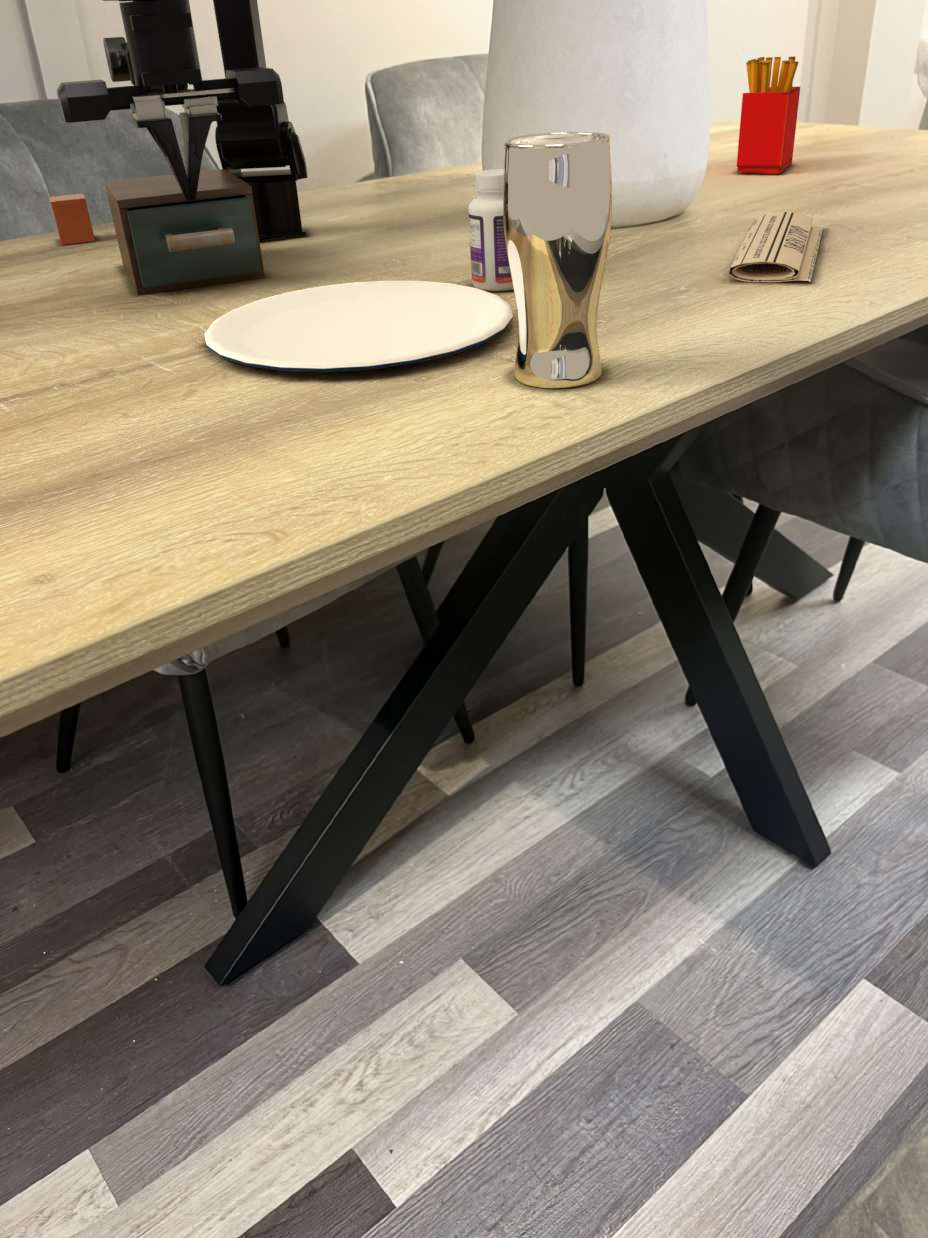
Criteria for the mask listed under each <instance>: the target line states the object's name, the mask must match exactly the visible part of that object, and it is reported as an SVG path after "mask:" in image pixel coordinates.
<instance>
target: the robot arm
mask: <svg viewBox="0 0 928 1238" xmlns="http://www.w3.org/2000/svg"><path fill="white" fill-rule="evenodd" d="M102 1H103V2H107V1H108V2H113V1H114V2H115V1H117V2H118V4H119V10H120V14H121V19H122V25H123V29H124V34H125V37H123V36H115V37H103V38H102V39H103V40H102V41H103V48H104V49H103V50H104V53H105V58H106V63H107V68H108V71H109V75H110V79H111V82H113V83H119V82H121V83H122V82H130V83H131V85H126V86H113V87H108V86H107V83H106V81H105V80H103V79H91V80H78V81H77V80H76V81H66V82H61V83H60V84H59V85H58V87H57V88H56V95H57V100H58V105H59V108H60V112H61V116H62V119H63V121H64V122H65V123H67V124H68V123H81V122H84V123H85V122H95V121H104V120H106V118H107V117H108V115H109V114H110V112H111V111H112V112H113V111H123V110H124V111H125V110H128V112H129V113H130V114H132V116H131V117H130V120H131V124H132V125H134V127H136V128H137V129H146V130H147V131H148V133H149V134H150V136H151V137H152V138H153V140H154V142H155V144H156V145H157V146H158V148H159V149H160V151H161V153H162V155H163V157H164V158H165V160H166V162H167V164H168V166H169V168H170V171H171V172H172V174H174V176H175V178H176V180H177V182H178V184H179V186H180V188H181V190H182V193H183V195H184V197H185V198H186V200H187V201H189V200H196V195H197V188H198V181H199V175H200V171H201V169H202V168H201V167H202V161H203V155H204V151H205V147H206V144H207V140H208V136H209V133H210V129H211V125H212V123H214V122H216V127H215V130H214V131H215V132H214V138H215V139H214V141H215V146H216V150H217V154H218V157H219V162H220V165H221V169H225V170H227V171H228V172H230V173H231V174H233V175H235V176H236V177H238V178H239V179H241V180H243V181H244V182H246V183H247V184H249V185H251V189H252V195H253V202H254V208H255V215H256V221H257V228H258V234H259V241H260V242H264V241H271V240H280V239H288V238H294V237H304V236H306V235H307V230H306V229H304V228H303V225H302V216H301V210H300V203H299V202H300V201H299V195H298V187H297V182H298V181H299V180H303V179H307V178H308V168H307V163H306V158H305V154H304V150H303V147H302V143H301V140H300V137H299V135H298V134H297V132H296V130H295V127H294V124H293V122H292V121H290V120H289V114H288V109H287V104H286V102H285V98H284V91H283V84H282V80H281V77H280V74H279V73H278V72H277V71H275V70H274V68H270V67H267V62H266V61H267V60H266V55H265V47H264V39H263V34H262V25H261V20H260V18H261V17H260V11H259V5H258V3H259V2H258V0H212V2H213V10H214V16H215V22H216V29H217V34H218V40H219V46H220V47H219V48H220V53H221V59H222V65H223V72H224V78H213V79H203V76H202V70H201V63H200V58H199V52H198V46H197V40H196V34H195V28H194V22H193V17H192V11H191V10H192V9H191V4H190V0H102ZM189 86H192V87H193V88H189ZM170 106H181V108H183V112H182V111H181V112H178V115H179V120H180V126H181V132H182V142H183V143H182V144H183V155H184V159H183V156H182V152H181V149H180V146H179V142H178V138H177V133H176V131H175V128H174V123H173V120H172V118H170V117H169V116H167V115H166V114H165V111H166V107H170ZM286 167H289V169H287V168H286ZM273 168H286V169H273ZM251 169H252V170H251ZM253 169H265V170H253ZM268 169H270V170H268ZM242 170H244V171H242ZM245 170H247V171H245Z"/></svg>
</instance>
